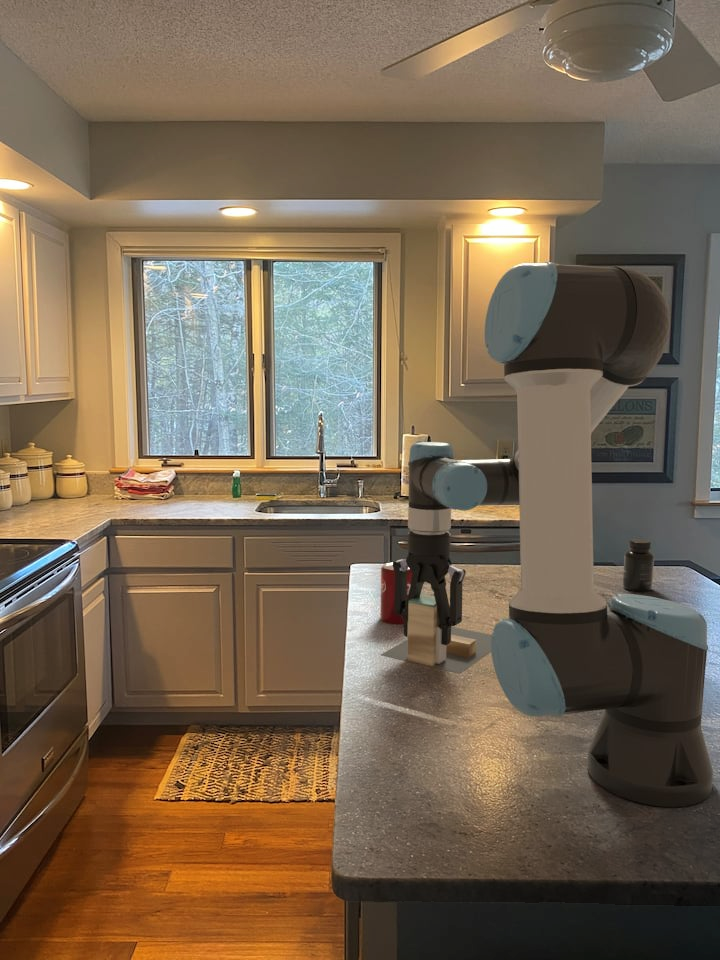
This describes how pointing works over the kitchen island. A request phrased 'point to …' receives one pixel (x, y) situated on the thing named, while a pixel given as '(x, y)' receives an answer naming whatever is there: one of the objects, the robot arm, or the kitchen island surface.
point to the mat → (452, 661)
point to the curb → (461, 646)
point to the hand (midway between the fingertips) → (426, 657)
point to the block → (422, 629)
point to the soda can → (390, 594)
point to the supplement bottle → (638, 566)
